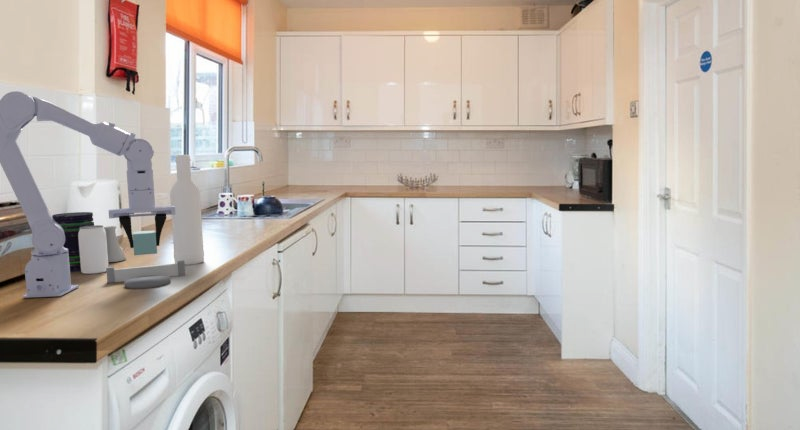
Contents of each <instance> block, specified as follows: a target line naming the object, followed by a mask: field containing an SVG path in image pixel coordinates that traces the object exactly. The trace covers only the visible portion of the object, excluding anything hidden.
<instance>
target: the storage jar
mask: <svg viewBox="0 0 800 430" xmlns="http://www.w3.org/2000/svg"><path fill="white" fill-rule="evenodd" d="M51 216H52V218H53V220H54V221H55V222H56V223H58V224H59V225H60V226H61V227H62V228H63V230H64V234H65V243H64V245H63V247H65V248H67V249H68V253H69V264H70V273H78V272H79V273H80V272H81V264H80V252H79V240H78V233H79V230H80V227H84V226H94V225H95V222H94V218H93V217H94V214H93V212H92V211H91V212H90V211H88V212H87V211H83V212H82V211H79V212H66V213H65V212H64V213H57V214H51Z"/></svg>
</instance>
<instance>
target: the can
mask: <svg viewBox="0 0 800 430" xmlns="http://www.w3.org/2000/svg"><path fill="white" fill-rule="evenodd" d="M78 240H79V252H80V264H81V271H80V272H81V273H82V274H83V275H98V274H103V273H107V271H106V267H109V262H108V254H107V241H106V232H105V229H104V225H95V224H94V226H84V227H80V230H79V233H78Z"/></svg>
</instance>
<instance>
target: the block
mask: <svg viewBox="0 0 800 430" xmlns="http://www.w3.org/2000/svg"><path fill="white" fill-rule="evenodd" d="M132 237H133V246H134V248H133V255H134V256H141V255H142V256H143V255H155V254H158V249H157V247H158V246H157V245H156V229H154V230H143V231H142V230H140V231H132Z"/></svg>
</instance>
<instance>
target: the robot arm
mask: <svg viewBox="0 0 800 430" xmlns="http://www.w3.org/2000/svg"><path fill="white" fill-rule="evenodd" d="M35 117H36V121H37V122H54V123H57V124H58V125H61V126H63V127H66V128H68V129H71V130H73V131H76V132H78V133H81V134H83V135H85V136H87V137H89V139H90V142H91V144H92V145H94V146H96V147H98V148H100V149H102V150H104V151H107V152H109V153H111V154H113V155H116V156H118V157H121V156H123V157H124V158H125V159H126V169H127V170H126V181H127V184H126V185H127V195H128V207H127V208H116V209H108V219H110V220H111V219H118V222H119V223H120V224H121V227H122V228H123V230H124V232H125V234H126V237H127V239H128V243H129V247H130V249H134V246H133V231H132V230H133V229H132V217H133V218H134V217H135V218H136V217H151V216H153V217H154V225H155V227H154V228H155V232H156V245H157V247H159V246H160V240H161V234H162V231H163V228H164V225H165V223H166V220H167V215H171V216H172V215H175V206H171V205H169V206H168V205H167V206H156V199H155V197H156V196H155V186H154V170H153V169H152V167H153V163H152V159H153V157H154V153H155V151H154V149H153V147H152V145H151V143H150V142H149V141H148V140H146V139H143V138H136V134H135V133H134V132H130V133H129V132H126V131H125V130H123V129H120V128H119V127H116V123H113V122H111V121H110V122H108V123H107V122H106V121H101V122H99V123H98V122H97V123H94V122H91V121H89V120H87V119H86V118H83V117H81V116H80V115H77V114H76V113H74V112H72V111H69V110H67V109H65V108H64V107H61V106H59V105H57V104H55V103H53V102H51V101H47V100H45V99H42V98H41V97H40V98H39V97H36V96H32V97H31V96H29V94H27V93H24V92H22V91H15V90H14V91H10V92H7V93H5V94H4V95H3V96H2V97H1V99H0V166H1V167H2V170H3V172H4V174H5V176H6V179H7V180H8V182H9V184H10V186H11V189H12V190H13V192H14V195H15V197H16V199H17V201H18V203H19V205H20V207H21V210H22V211H23V214H24V216H25V218H26V221H27V223H28V225H29V227H30V230H31V244H32V246H33V248H34V249H33V250H31V252H30V255H31V258H30V260H29V261H28V262H27V263H26V264H25V267H24V276H25V277H24V278H25V288H26V289H25V290H26V294H23V295H22V298H24V299H25V298H27V299H29V298H47V297H49V298H50V297H62V296H63V295H65V294H68V293H69V292H71V291H73V290H75V289H77V288H79V287H80V285H79V284H72V278H71V272H70V264H69V253H68V249H67V248H65V247H63V245H64V243H65V234H64V230H63V228H62V227H61V226H60V225H59V224H58V223H56V222H55V221H54V220H53V218H52V213H51V211H50V210H49V208H48V206H47V203H46V202H45V199H44V198H43V196H42V193H41V191H40V189H39V187H38V185H37V182H36V180H35V178H34V176H33V174H32V172H31V170H30V168H29V165H28V164H27V161H26V159H25V157H24V155H23V152H22V151H21V149H20V147H19V146H20V145H19V144H18V143H17V140H18V138H19V136H20V135H21V133H22V131H23V128H25V127H26V126H27V125H28V124H29V123H30V122H31V121H32V120H34V119H35Z"/></svg>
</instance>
